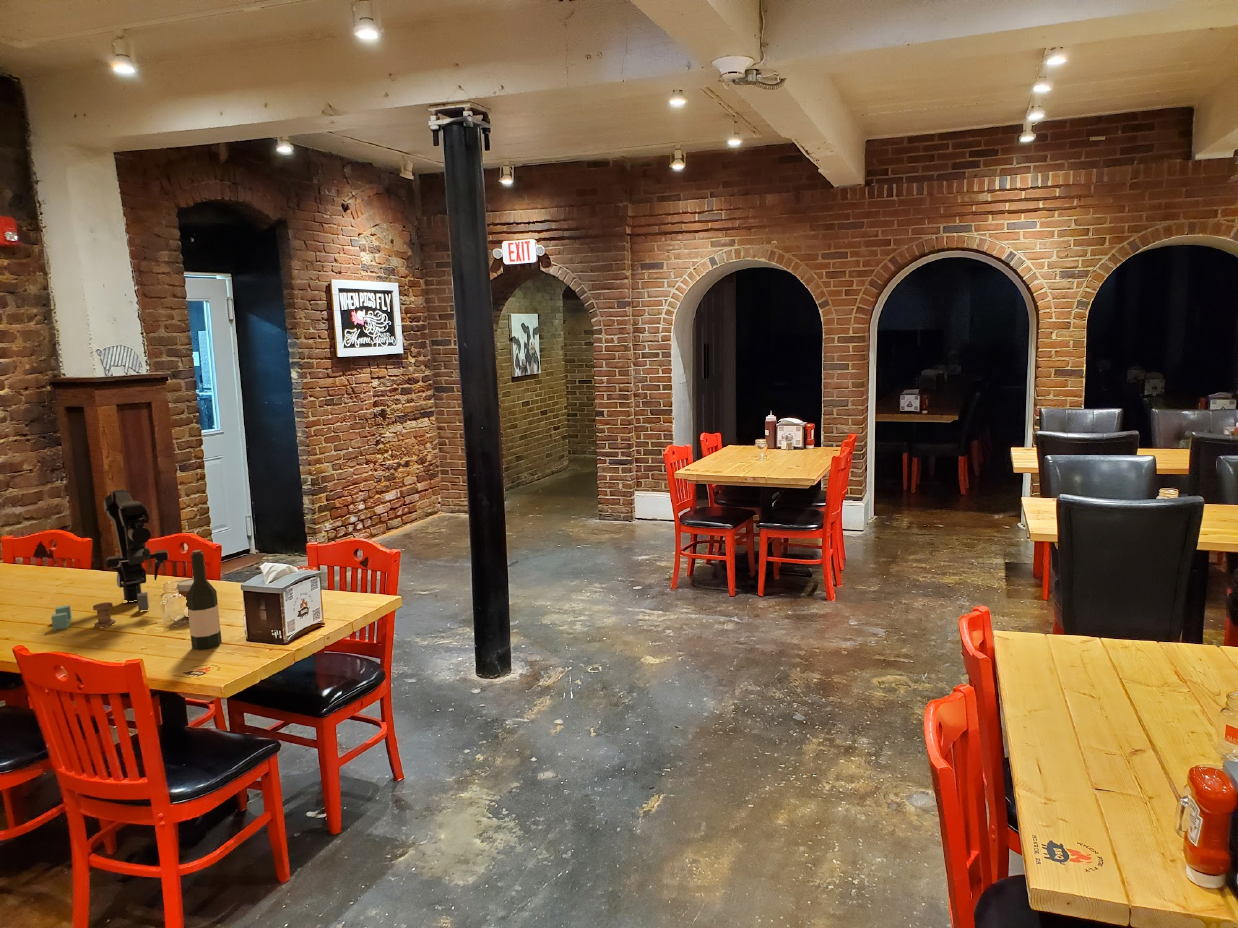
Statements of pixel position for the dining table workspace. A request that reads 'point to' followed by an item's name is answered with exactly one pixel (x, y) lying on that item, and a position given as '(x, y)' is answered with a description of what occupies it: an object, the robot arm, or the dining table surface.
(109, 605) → the spool
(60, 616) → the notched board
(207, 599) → the wine bottle
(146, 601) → the grey upright block
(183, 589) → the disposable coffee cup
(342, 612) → the dining table surface
